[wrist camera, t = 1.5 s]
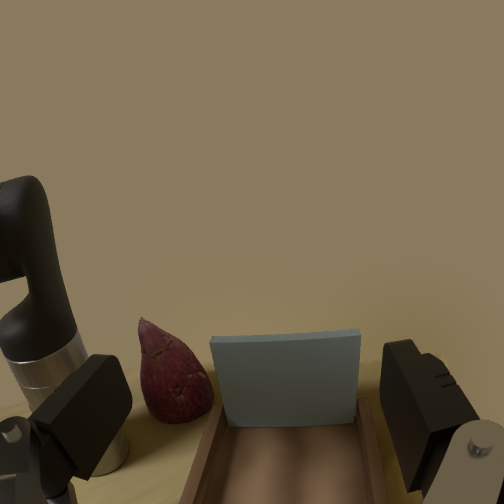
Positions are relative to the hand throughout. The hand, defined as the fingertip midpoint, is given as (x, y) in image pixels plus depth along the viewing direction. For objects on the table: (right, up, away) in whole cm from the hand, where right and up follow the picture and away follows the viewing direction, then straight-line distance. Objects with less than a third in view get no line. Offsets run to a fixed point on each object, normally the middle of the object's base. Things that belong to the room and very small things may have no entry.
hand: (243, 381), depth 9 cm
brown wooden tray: (+4, -21, +17) cm, 27 cm away
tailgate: (+5, -16, +25) cm, 30 cm away
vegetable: (-10, -18, +33) cm, 39 cm away
